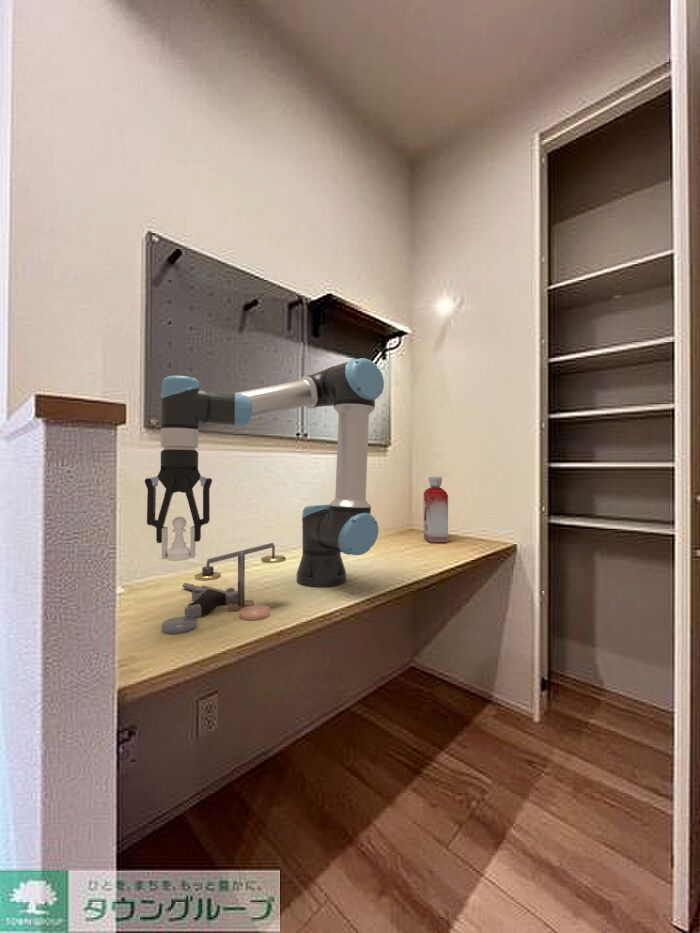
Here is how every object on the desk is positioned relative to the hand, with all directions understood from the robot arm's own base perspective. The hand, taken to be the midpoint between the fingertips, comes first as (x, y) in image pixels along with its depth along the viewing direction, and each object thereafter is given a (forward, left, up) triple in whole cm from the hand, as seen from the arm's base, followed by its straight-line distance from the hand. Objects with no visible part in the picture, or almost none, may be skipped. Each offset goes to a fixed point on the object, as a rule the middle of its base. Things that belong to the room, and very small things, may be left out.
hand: (178, 557), depth 92 cm
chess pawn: (0, 0, -1) cm, 1 cm away
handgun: (-1, -18, -16) cm, 24 cm away
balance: (-13, -10, -15) cm, 22 cm away
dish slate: (0, 0, -15) cm, 15 cm away
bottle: (-102, -85, -15) cm, 134 cm away
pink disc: (-16, -4, -15) cm, 23 cm away
